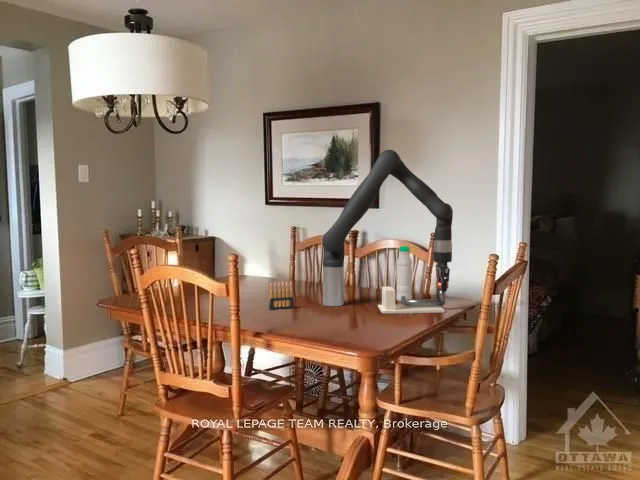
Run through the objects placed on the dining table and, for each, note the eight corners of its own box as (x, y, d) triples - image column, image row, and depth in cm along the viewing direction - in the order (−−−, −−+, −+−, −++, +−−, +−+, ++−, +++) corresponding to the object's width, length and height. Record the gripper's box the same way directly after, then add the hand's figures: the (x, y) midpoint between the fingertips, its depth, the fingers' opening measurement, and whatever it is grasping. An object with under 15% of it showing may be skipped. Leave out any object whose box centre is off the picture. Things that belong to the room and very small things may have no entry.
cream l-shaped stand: (382, 313, 236) (382, 291, 235) (378, 306, 249) (378, 286, 248) (444, 312, 237) (445, 290, 236) (437, 306, 250) (437, 285, 249)
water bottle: (411, 302, 259) (411, 247, 257) (395, 301, 260) (396, 247, 258) (412, 299, 266) (412, 245, 263) (396, 298, 267) (397, 245, 265)
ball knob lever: (402, 307, 240) (402, 283, 239) (400, 305, 245) (400, 281, 244) (449, 306, 241) (449, 283, 240) (446, 304, 246) (446, 281, 245)
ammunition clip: (292, 307, 248) (292, 280, 247) (293, 308, 246) (293, 281, 245) (268, 309, 245) (268, 281, 244) (269, 310, 243) (269, 282, 242)
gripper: (430, 248, 248) (429, 287, 250) (438, 252, 234) (437, 293, 236) (447, 248, 249) (446, 287, 250) (456, 252, 234) (455, 293, 236)
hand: (442, 290), depth 243 cm, fingers closed on ball knob lever, 5 cm apart
